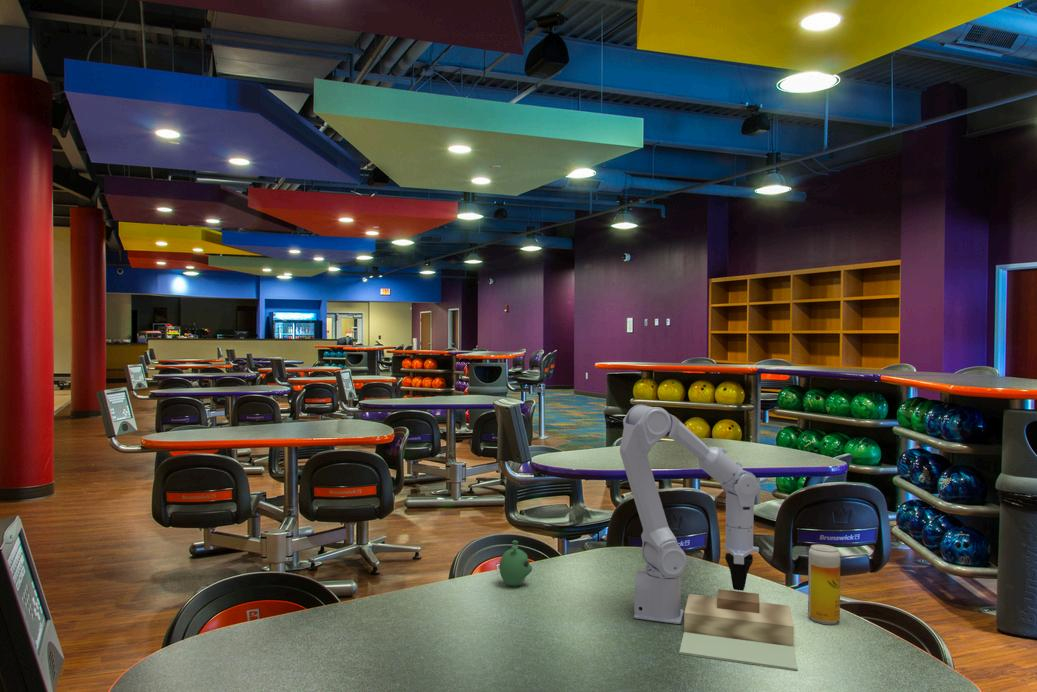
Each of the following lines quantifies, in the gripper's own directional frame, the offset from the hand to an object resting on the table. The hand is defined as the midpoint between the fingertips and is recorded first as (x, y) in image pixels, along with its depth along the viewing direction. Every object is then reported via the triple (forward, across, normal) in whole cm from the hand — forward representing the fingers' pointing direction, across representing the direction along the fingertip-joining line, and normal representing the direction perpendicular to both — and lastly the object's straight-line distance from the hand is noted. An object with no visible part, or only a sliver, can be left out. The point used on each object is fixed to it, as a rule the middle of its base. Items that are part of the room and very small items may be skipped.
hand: (738, 589), depth 151 cm
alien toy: (+5, -1, +50) cm, 50 cm away
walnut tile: (+1, -9, 0) cm, 9 cm away
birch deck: (+5, -11, 0) cm, 12 cm away
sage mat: (+5, -22, 0) cm, 23 cm away
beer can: (+5, +1, -17) cm, 18 cm away
